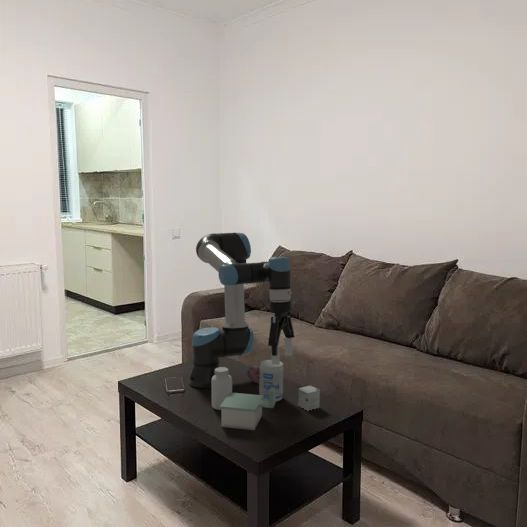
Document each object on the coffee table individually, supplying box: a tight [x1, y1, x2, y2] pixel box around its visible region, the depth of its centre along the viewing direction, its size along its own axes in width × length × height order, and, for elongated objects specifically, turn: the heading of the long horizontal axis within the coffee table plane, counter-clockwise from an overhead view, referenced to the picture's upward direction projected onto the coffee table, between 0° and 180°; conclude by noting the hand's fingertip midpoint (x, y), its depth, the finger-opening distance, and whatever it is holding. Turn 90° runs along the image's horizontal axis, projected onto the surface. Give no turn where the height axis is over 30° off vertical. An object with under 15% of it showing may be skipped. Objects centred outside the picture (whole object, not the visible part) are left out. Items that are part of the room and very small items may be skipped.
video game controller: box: [246, 365, 260, 385], centre depth 229 cm, size 10×5×7 cm, turn 163°
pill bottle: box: [211, 366, 233, 411], centre depth 200 cm, size 8×8×15 cm
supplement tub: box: [258, 359, 284, 403], centre depth 208 cm, size 10×10×15 cm
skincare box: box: [297, 385, 321, 412], centre depth 200 cm, size 6×6×7 cm
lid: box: [220, 387, 276, 412], centre depth 186 cm, size 13×18×7 cm
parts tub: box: [220, 407, 263, 431], centre depth 187 cm, size 12×12×7 cm
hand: (282, 359), depth 185 cm, fingers open, 13 cm apart
